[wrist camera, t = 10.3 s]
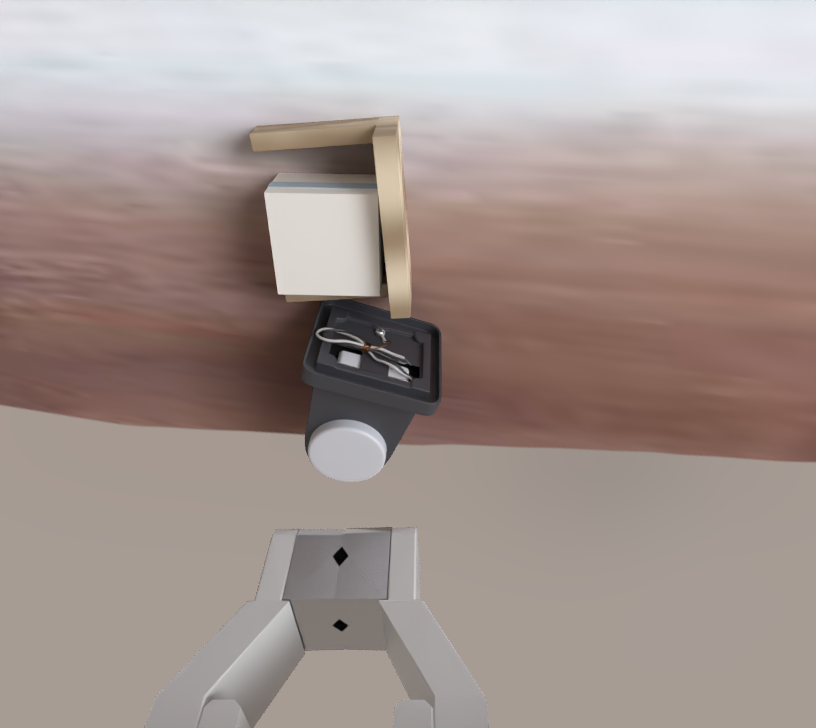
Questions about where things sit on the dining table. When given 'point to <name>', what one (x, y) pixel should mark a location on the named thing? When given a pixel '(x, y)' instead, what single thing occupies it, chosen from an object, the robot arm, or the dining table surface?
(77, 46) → the dining table surface
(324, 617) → the robot arm
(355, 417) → the light fixture
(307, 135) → the stand
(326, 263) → the carton
